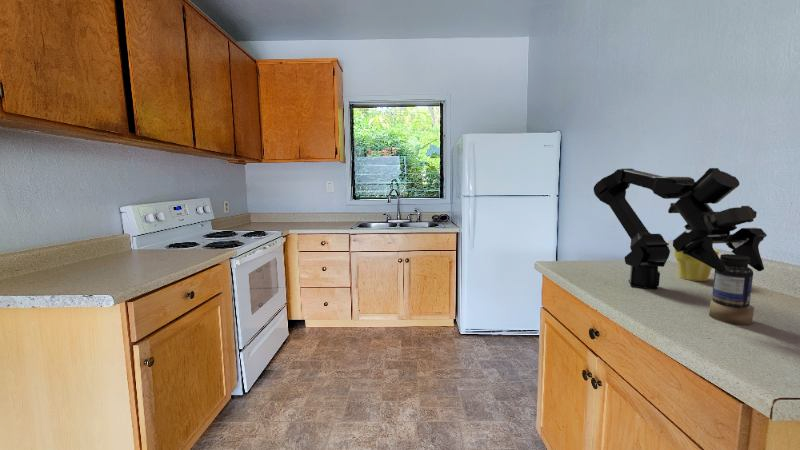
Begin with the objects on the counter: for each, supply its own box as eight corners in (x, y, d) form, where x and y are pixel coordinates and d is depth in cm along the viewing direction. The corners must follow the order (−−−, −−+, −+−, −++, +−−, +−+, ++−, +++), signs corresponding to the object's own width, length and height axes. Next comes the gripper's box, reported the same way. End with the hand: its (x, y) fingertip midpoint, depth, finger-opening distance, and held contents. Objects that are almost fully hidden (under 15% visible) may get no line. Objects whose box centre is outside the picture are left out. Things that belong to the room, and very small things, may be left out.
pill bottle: (727, 298, 79) (732, 252, 77) (757, 307, 73) (763, 258, 71) (704, 299, 78) (708, 253, 77) (732, 309, 72) (737, 259, 71)
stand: (714, 321, 74) (716, 306, 74) (705, 310, 80) (706, 296, 80) (758, 327, 71) (760, 312, 70) (744, 316, 77) (746, 301, 77)
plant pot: (683, 282, 102) (687, 251, 101) (665, 273, 112) (668, 245, 111) (723, 284, 100) (727, 252, 99) (701, 274, 110) (704, 246, 109)
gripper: (689, 194, 75) (736, 252, 66) (762, 193, 77) (819, 249, 67) (656, 224, 84) (693, 279, 74) (722, 222, 86) (767, 276, 76)
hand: (743, 271), depth 73 cm, fingers open, 9 cm apart
